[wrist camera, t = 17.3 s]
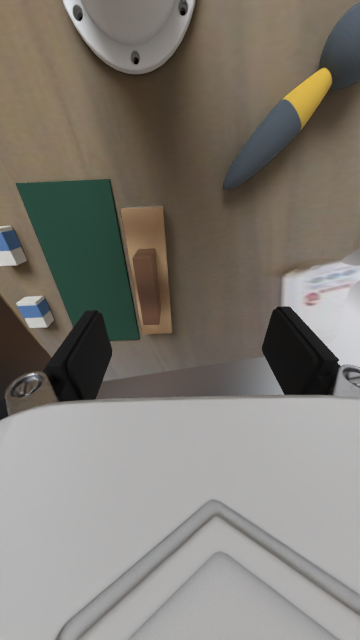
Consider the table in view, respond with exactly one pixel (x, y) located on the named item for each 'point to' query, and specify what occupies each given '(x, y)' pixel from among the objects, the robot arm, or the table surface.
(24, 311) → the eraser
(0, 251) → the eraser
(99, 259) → the desk mat
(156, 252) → the scrub brush
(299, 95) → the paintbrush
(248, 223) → the table surface
